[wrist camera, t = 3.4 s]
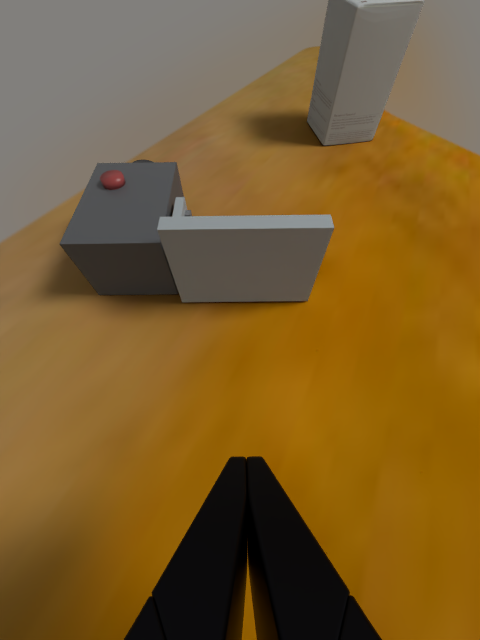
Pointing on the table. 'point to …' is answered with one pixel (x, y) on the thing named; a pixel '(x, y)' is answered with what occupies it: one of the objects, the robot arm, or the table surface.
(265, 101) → the table surface
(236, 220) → the side door
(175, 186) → the camera body
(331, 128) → the supplement box
